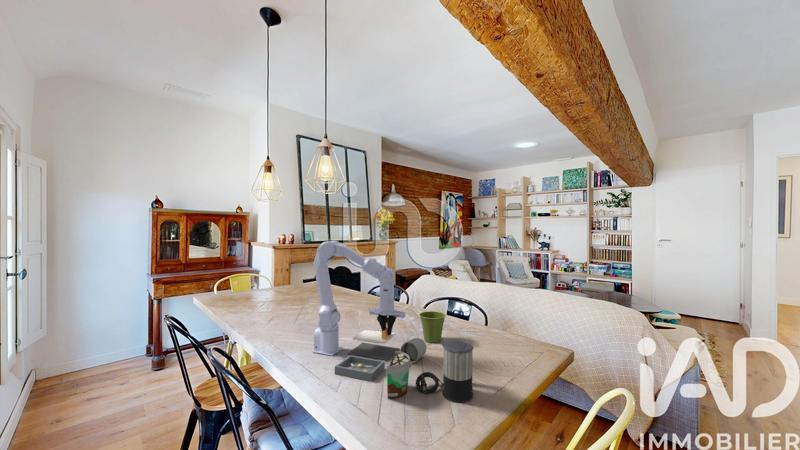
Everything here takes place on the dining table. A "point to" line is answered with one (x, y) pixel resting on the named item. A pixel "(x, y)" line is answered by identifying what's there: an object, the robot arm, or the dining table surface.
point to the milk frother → (453, 372)
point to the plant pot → (432, 325)
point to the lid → (374, 336)
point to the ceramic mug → (414, 349)
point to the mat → (374, 351)
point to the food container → (398, 375)
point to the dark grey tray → (360, 368)
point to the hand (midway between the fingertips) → (386, 334)
